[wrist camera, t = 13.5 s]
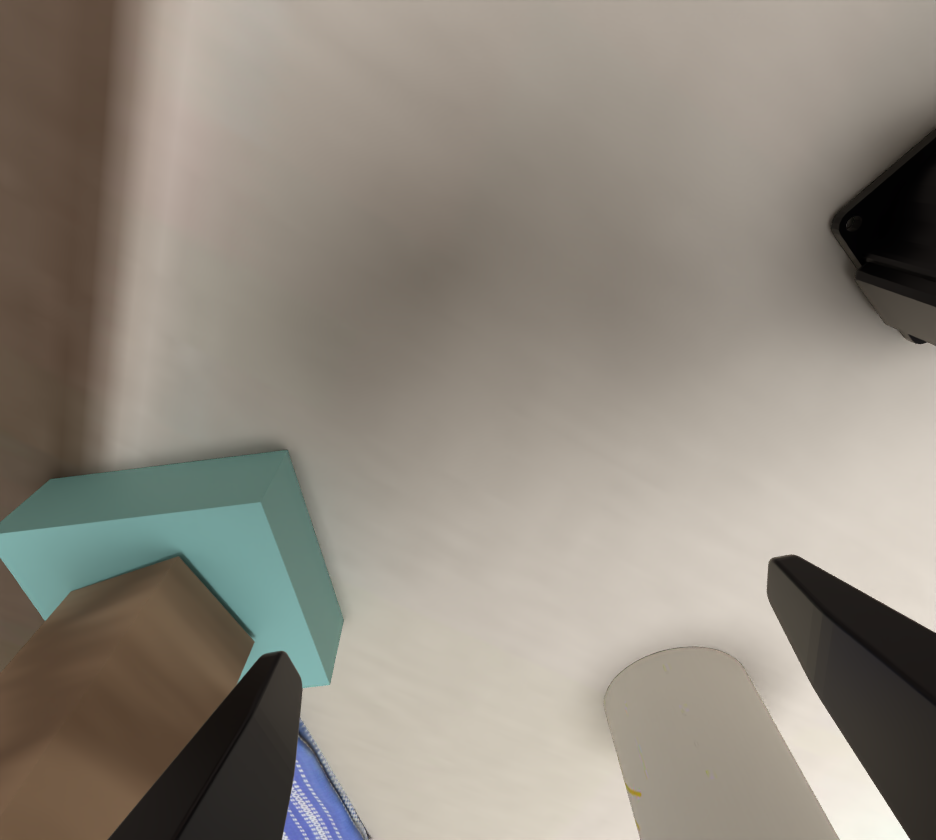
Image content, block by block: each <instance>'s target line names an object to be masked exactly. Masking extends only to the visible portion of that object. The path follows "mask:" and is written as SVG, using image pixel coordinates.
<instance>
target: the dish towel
mask: <svg viewBox="0 0 936 840" xmlns="http://www.w3.org/2000/svg"><path fill="white" fill-rule="evenodd" d="M282 840H369V839H368V837H367V833H366V830H365V827H364V826H363V824H362V822H361V821H360V819H359V817H358V815H357V813H356V811H355V809H354V807H353V805H352V804H351V802H350V800H349V798H348V797H347V795H346V793H345V791H344V790H343V788H342V786H341V785H340V783H339V782H338V780H337V778H336V776H335V774H334V773H333V771H332V770H331V768H330V766H329V764H328V762H327V760H326V759H325V757H324V756H323V753H322V752H321V750H320V749H319V748H318V746H317V744H316V742H315V741H314V739H313V738H312V736H311V734H310V733H309V731H308V730H307V728H306V726H305V725H304V723H303V721H302V720H301V718H300V722H299V733H298V743H297V754H296V764H295V772H294V779H293V785H292V791H291V796H290V801H289V806H288V812H287V817H286V822H285V827H284V832H283V837H282Z"/></svg>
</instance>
